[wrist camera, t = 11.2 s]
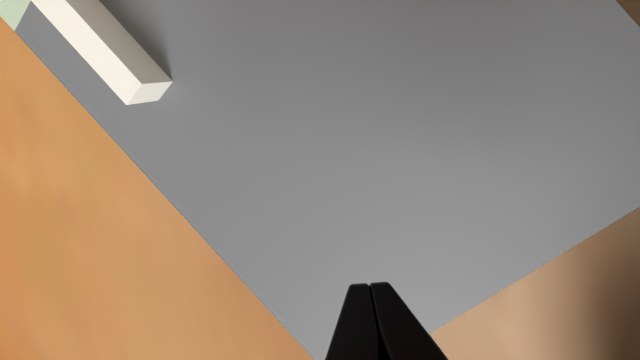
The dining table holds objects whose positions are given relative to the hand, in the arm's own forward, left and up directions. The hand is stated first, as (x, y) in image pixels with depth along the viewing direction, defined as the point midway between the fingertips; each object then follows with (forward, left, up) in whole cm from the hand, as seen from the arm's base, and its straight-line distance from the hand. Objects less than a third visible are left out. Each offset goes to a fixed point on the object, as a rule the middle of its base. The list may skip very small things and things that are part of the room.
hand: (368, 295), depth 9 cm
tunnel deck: (+18, 0, -12) cm, 22 cm away
